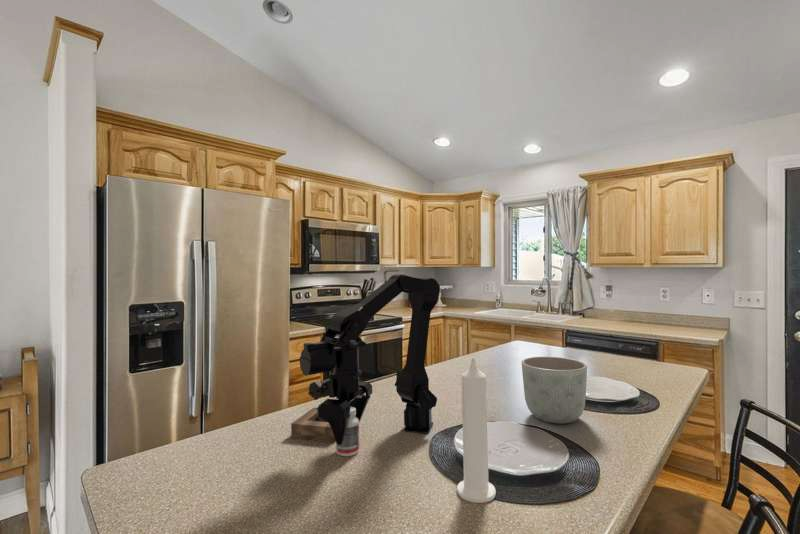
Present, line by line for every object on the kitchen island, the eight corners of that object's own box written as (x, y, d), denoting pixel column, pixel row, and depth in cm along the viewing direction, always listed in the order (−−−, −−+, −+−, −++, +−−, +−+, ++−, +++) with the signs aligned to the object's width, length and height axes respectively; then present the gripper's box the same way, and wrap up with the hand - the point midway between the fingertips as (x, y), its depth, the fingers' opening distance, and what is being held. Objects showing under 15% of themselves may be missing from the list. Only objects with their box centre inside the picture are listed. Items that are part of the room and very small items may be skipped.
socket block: (353, 423, 108) (353, 410, 108) (335, 442, 96) (334, 427, 96) (314, 419, 111) (313, 407, 111) (291, 437, 99) (291, 423, 99)
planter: (511, 419, 109) (510, 364, 109) (537, 403, 121) (536, 353, 121) (575, 436, 97) (574, 374, 97) (597, 416, 109) (595, 361, 110)
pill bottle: (363, 452, 90) (362, 410, 90) (342, 459, 87) (341, 415, 87) (352, 444, 95) (352, 403, 95) (332, 450, 92) (331, 408, 92)
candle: (453, 483, 77) (450, 354, 77) (488, 481, 77) (486, 353, 77) (462, 504, 70) (459, 362, 70) (501, 502, 70) (498, 361, 70)
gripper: (331, 357, 102) (332, 418, 102) (294, 376, 84) (295, 450, 84) (372, 359, 99) (373, 421, 99) (342, 379, 81) (343, 455, 81)
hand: (347, 435), depth 91 cm, fingers open, 9 cm apart
